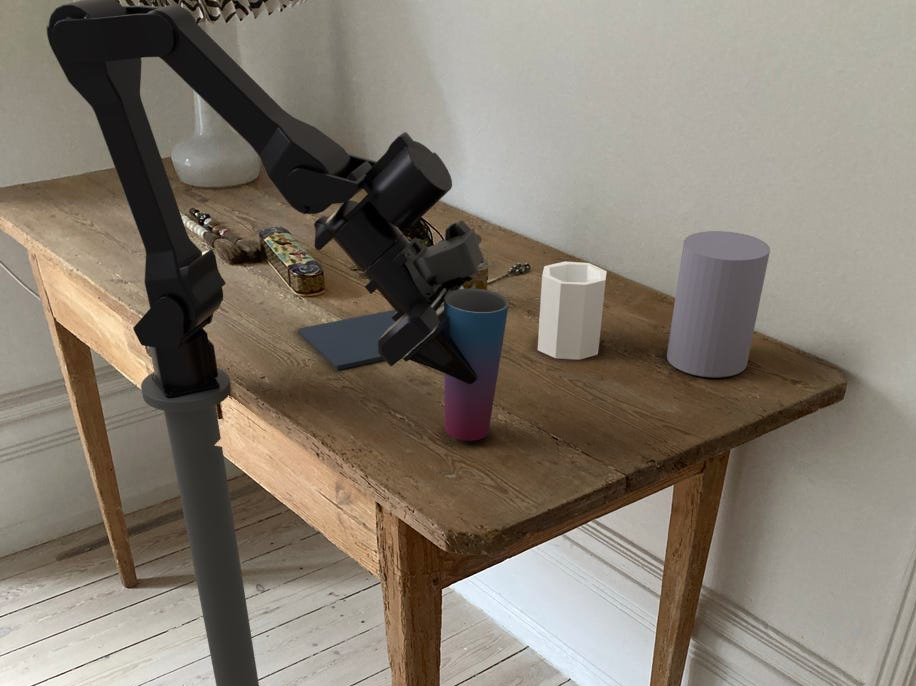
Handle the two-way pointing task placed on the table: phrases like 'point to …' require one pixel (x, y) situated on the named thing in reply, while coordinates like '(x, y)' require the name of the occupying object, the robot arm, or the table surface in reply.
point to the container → (716, 303)
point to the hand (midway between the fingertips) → (482, 369)
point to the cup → (474, 359)
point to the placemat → (349, 339)
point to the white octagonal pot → (571, 310)
